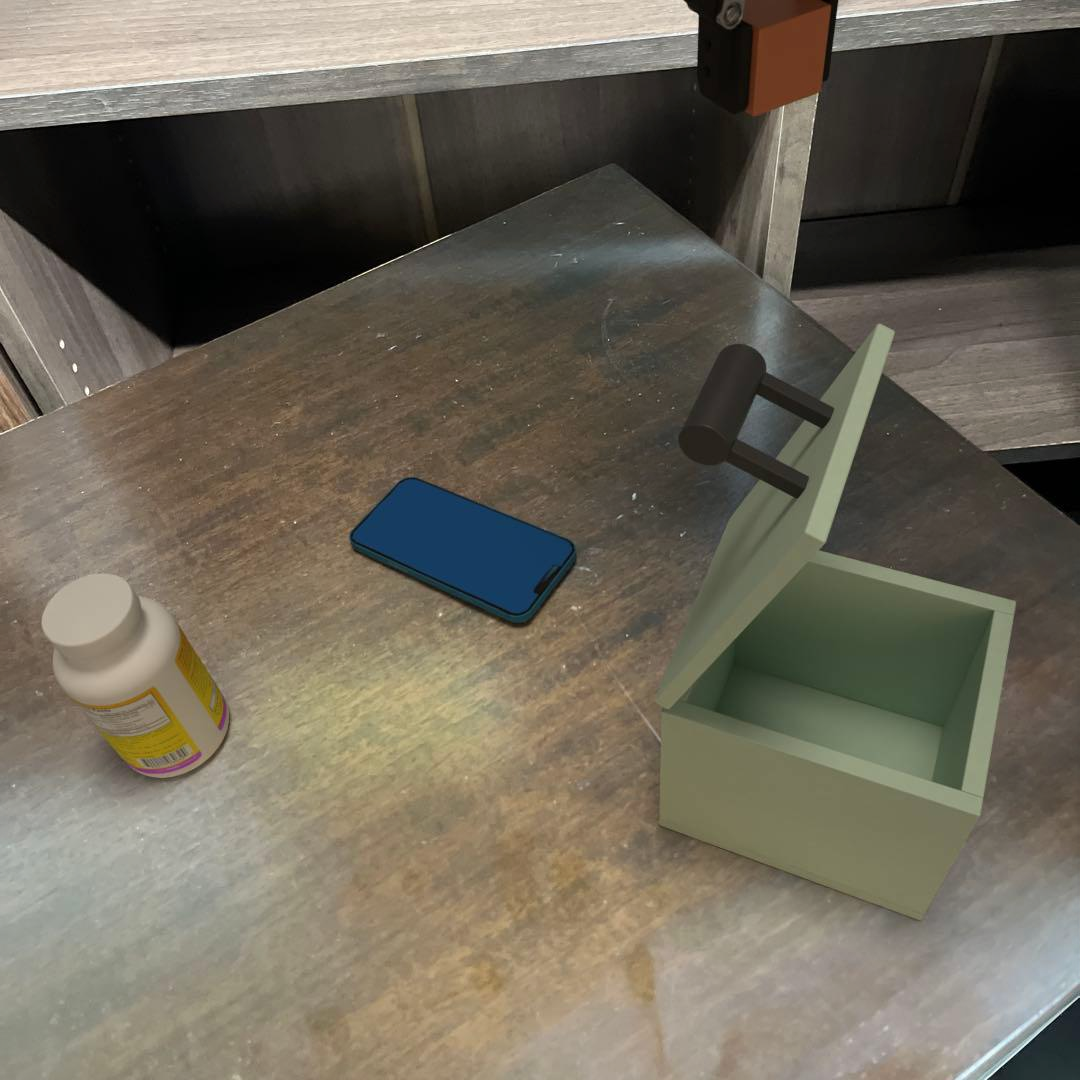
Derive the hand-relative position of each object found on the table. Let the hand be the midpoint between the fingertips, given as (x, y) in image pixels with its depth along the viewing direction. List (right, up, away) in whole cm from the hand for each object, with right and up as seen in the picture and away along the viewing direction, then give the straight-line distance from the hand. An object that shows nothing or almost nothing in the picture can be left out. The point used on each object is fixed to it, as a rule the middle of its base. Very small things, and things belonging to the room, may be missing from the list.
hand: (763, 84), depth 48 cm
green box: (+4, -35, +7) cm, 36 cm away
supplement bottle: (-33, -34, +12) cm, 49 cm away
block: (0, 0, 0) cm, 0 cm away
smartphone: (-16, -23, +20) cm, 34 cm away
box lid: (-1, -22, -6) cm, 23 cm away
